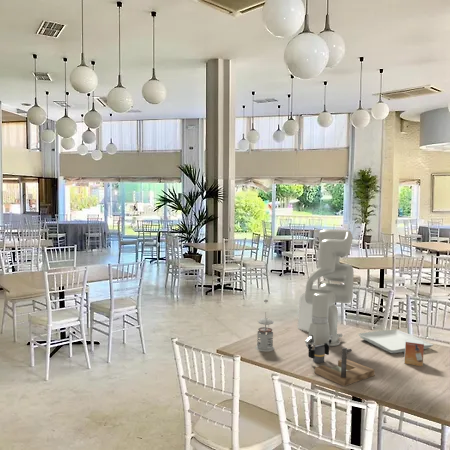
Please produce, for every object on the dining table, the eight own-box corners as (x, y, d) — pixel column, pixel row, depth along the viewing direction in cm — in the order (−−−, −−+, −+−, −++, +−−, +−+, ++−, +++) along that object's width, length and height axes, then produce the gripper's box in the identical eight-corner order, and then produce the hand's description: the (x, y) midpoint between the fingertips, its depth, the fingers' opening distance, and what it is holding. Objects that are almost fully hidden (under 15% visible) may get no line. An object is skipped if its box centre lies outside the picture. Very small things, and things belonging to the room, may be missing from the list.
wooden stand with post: (345, 363, 206) (346, 333, 205) (374, 375, 193) (375, 342, 192) (314, 373, 195) (316, 340, 194) (344, 386, 182) (345, 351, 181)
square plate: (356, 339, 243) (356, 332, 243) (396, 335, 253) (396, 328, 252) (391, 357, 218) (391, 349, 217) (434, 351, 227) (434, 343, 227)
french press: (253, 350, 222) (254, 300, 221) (257, 343, 233) (258, 295, 232) (273, 352, 220) (274, 302, 218) (276, 344, 231) (277, 297, 230)
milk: (310, 324, 268) (311, 282, 267) (325, 329, 260) (327, 285, 258) (297, 328, 261) (298, 284, 259) (312, 333, 252) (314, 287, 250)
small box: (404, 363, 208) (405, 341, 207) (404, 359, 213) (405, 338, 212) (423, 366, 205) (424, 344, 204) (422, 362, 210) (423, 340, 209)
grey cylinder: (318, 358, 213) (318, 344, 212) (326, 361, 208) (327, 347, 208) (310, 360, 210) (310, 346, 209) (318, 364, 205) (319, 349, 205)
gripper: (326, 315, 216) (325, 350, 216) (300, 320, 206) (299, 356, 206) (338, 319, 210) (337, 354, 210) (312, 324, 200) (311, 361, 200)
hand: (318, 355), depth 208 cm, fingers open, 9 cm apart
